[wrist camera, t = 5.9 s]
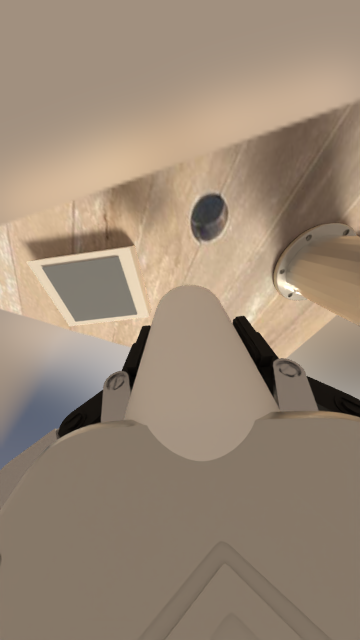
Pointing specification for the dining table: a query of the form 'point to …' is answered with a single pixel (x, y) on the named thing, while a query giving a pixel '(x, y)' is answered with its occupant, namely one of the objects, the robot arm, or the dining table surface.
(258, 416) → the can
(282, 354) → the dining table surface
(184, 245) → the dining table surface
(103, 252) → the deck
